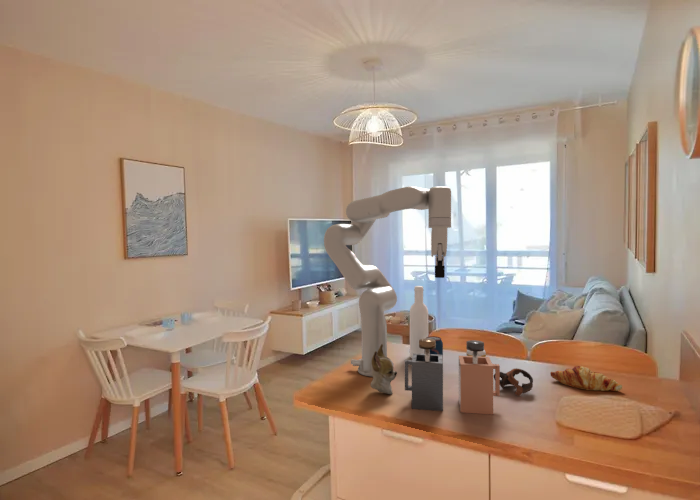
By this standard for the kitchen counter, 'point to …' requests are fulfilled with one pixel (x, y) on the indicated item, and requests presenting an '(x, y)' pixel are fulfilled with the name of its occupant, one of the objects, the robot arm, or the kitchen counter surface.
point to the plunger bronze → (427, 347)
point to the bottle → (418, 322)
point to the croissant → (586, 379)
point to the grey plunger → (475, 348)
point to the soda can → (437, 346)
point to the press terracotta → (477, 385)
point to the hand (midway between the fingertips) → (439, 277)
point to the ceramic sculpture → (382, 372)
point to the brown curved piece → (510, 380)
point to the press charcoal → (426, 382)
